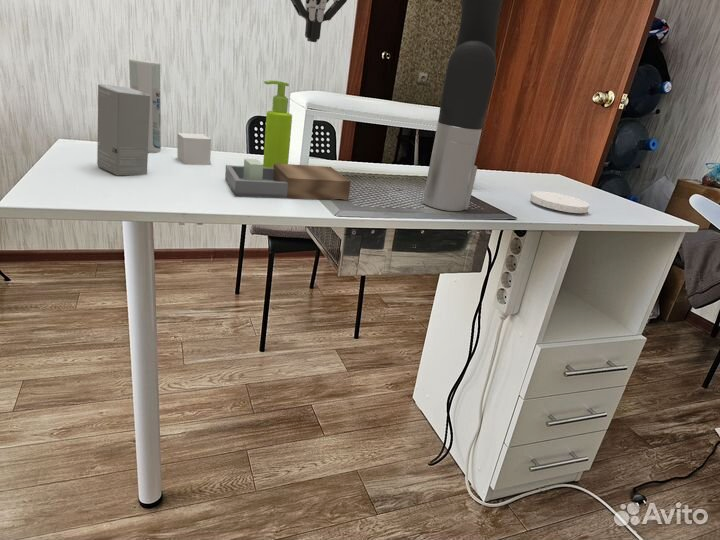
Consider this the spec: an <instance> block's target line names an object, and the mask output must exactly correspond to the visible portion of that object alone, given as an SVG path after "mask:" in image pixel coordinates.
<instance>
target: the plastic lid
mask: <svg viewBox="0 0 720 540" xmlns="http://www.w3.org/2000/svg"><path fill="white" fill-rule="evenodd" d="M529 200H530V202H532V203H534V204H536V205H539V206H541V207H545V208H548V209H552V210H556V211H561V212H565V213H572V214H586V213H588V211H589V209H590V206H591V205H590V203H588V202H586V201H584V200H582V199H579V198H577V197H573V196H570V195H566V194H564V193H563V194H562V193H558V192H552V191H541V190H539V191H531V193H530V198H529Z"/></svg>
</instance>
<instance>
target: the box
mask: <svg viewBox="0 0 720 540" xmlns="http://www.w3.org/2000/svg"><path fill="white" fill-rule="evenodd" d="M243 174H244V165H232V164H231V165H230V164H229V165H228V164H225V176H224V177H225V181H226V183H227V185H228V187H229V189H230V190H231V192H232V193H233V196H234V197H240V198H241V197H244V198H246V197H247V198H269V199H270V198H272V199H273V198H275V199H288V198H287V190H288V183H287V182H278V181H274V168H267V167H263V176H262V181H257V180H243Z"/></svg>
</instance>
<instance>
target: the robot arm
mask: <svg viewBox="0 0 720 540" xmlns="http://www.w3.org/2000/svg"><path fill="white" fill-rule="evenodd" d="M290 1H291V3H292V6H293V7H294V9H295V11H296V13H297V14H298V16H300V17H301V18H303V19H305V30H304V31H305V32H304V36H305V38H306V39H307V42H310V43H311V42H312V43H317V41H318V40H320V38H321V32H322V24H323V22H325V21H331V20H332V18H333V17H334V16H335V15H336V14H337V13H338V12H339V10H341V8H343V6H344V5H345V4H346V3H347V1H348V0H332V1H333V3H332V4H331V6H329V7H328V8H327V9H326V7H327V3H329V2H330V0H305V6H304V4H303V2H302V0H290ZM503 1H504V0H461V13H460V14H461V16H460V23H459V29H458V34H457V38H456V43H455V47H454V50H453V52H452V53H451V55H450V57H449V60H448V63H447V67H446V72H445V78H444V82H443V89H442V93H441V99H440V105H439V112H438V113H439V114H438V119H437V126H436V129H435V136H434V140H433V141H434V142H433V146H432V152H431V157H430V161H429V167H428V171H427V178H426V181H425V182H426V183H425V186H424V187H425V188H424V192H423V198H422V203H423V204H425V205H426V206H429V207H430V208H435V209H436V210H437V209H438V210H442V211H448V212H461V211H464V210H468V209H469V207H470V203H471V202H470V201H471V197H472V195H473V194H472V193H473V189H474V184H475V181H476V175H477V172H478V166H477V165H475V161H476V158H477V154H478V153H477V152H478V149H479V144H480V140H481V139H480V138H481V136H482V135H481V134H482V131H483V127H484V122H485V119H486V114H487V110H488V105H489V101H490V96H491V93H492V88H493V84H494V79H495V75H496V71H497V58H496V45H497V43H496V42H497V33H498V32H497V31H498V23H499V18H500V17H499V15H500V13H501V8H502V4H503ZM325 10H326V11H325Z"/></svg>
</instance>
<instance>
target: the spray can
mask: <svg viewBox="0 0 720 540" xmlns="http://www.w3.org/2000/svg"><path fill="white" fill-rule="evenodd" d="M128 64H129V65H128V66H129V88H132V89H135V90H138V91H141V92H143V93H145V94H148V95H150V112H149V136H148V154H149V153H150V154H153V153H160V152H161V151H162V150H161V149H162V146H161V143H162V140H161V138H162V137H161V135H162V134H161V129H162V128H161V124H162V123H161V121H162V119H161V117H162V115H161V113H162V112H161V107H162V106H161V63H160V62H156V61H151V60H144V59H135V58H130V59H128Z"/></svg>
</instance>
